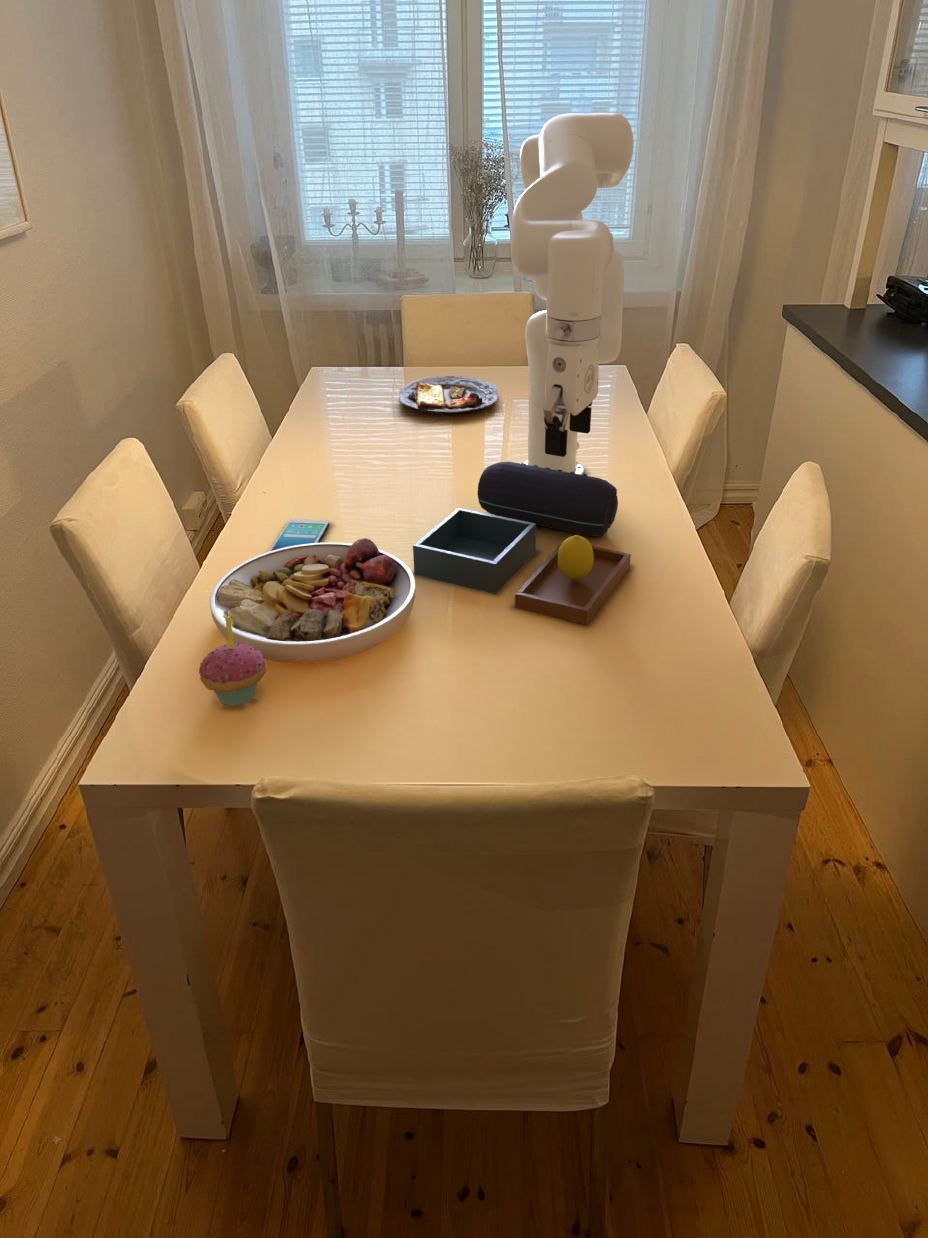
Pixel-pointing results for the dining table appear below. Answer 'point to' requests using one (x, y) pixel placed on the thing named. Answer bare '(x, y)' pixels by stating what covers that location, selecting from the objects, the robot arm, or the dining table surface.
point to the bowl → (315, 600)
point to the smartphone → (301, 533)
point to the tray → (572, 587)
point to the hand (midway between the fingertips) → (567, 442)
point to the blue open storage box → (475, 550)
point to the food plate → (448, 394)
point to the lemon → (575, 558)
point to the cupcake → (233, 670)
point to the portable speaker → (548, 497)
